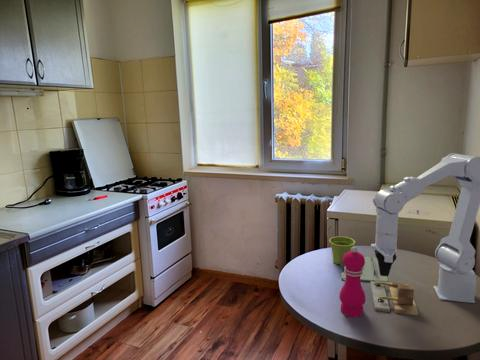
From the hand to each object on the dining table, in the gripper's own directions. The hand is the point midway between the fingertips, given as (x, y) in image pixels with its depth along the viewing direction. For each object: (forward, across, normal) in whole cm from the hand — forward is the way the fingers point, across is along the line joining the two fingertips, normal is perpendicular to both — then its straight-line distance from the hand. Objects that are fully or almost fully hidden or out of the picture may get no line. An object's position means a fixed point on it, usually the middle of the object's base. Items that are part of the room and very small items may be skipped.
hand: (384, 275), depth 103 cm
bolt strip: (+9, -4, 0) cm, 10 cm away
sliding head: (+8, 0, +4) cm, 9 cm away
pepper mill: (+10, +6, -9) cm, 14 cm away
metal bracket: (+10, -20, -5) cm, 22 cm away
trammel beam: (+9, -4, +4) cm, 11 cm away
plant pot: (+10, -28, -12) cm, 32 cm away
